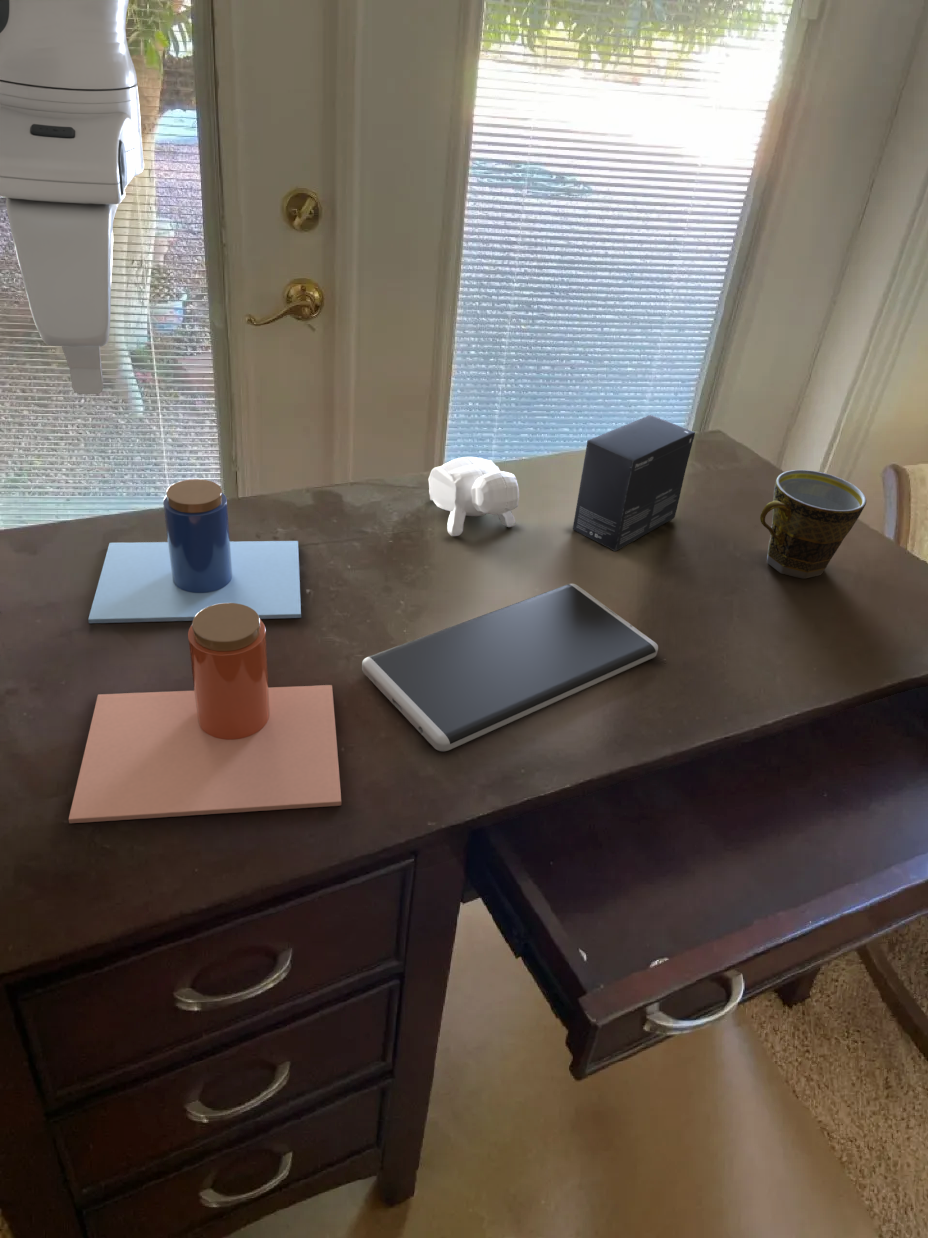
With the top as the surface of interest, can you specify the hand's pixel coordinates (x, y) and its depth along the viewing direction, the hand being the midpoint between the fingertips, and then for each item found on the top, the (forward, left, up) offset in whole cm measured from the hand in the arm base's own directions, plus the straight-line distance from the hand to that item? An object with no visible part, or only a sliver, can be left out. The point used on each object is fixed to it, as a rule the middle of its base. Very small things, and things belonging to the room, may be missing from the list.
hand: (91, 359), depth 60 cm
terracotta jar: (+8, -4, -29) cm, 31 cm away
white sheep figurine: (+35, +30, -30) cm, 55 cm away
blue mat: (+4, +18, -30) cm, 35 cm away
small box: (+54, +29, -30) cm, 68 cm away
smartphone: (+34, +2, -30) cm, 45 cm away
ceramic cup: (+71, +19, -30) cm, 79 cm away
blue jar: (+4, +18, -29) cm, 34 cm away
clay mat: (+6, -7, -30) cm, 31 cm away
